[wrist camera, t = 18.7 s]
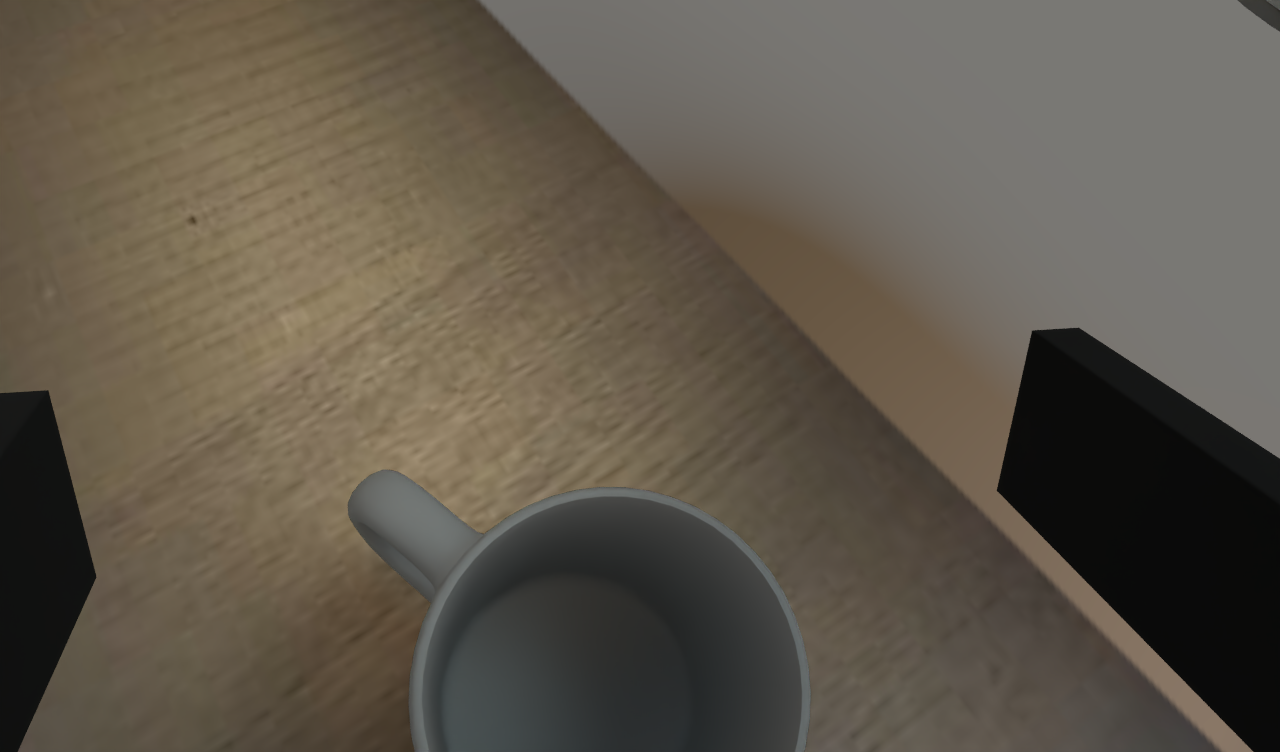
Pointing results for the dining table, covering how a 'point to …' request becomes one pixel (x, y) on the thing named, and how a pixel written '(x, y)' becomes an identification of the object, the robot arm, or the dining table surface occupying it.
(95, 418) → the dining table surface
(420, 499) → the mug
